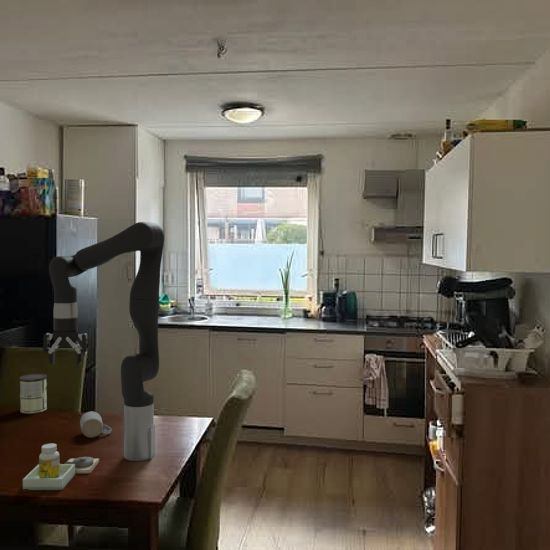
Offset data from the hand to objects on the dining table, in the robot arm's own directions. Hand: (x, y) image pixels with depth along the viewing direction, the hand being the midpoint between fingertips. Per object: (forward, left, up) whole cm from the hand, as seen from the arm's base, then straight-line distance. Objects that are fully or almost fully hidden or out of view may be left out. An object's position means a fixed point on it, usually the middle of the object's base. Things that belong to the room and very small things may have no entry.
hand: (66, 364), depth 181 cm
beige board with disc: (-10, +17, -28) cm, 34 cm away
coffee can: (+29, -44, -28) cm, 60 cm away
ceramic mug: (-6, -13, -28) cm, 32 cm away
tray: (-5, +27, -28) cm, 40 cm away
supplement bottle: (-5, +27, -28) cm, 39 cm away
